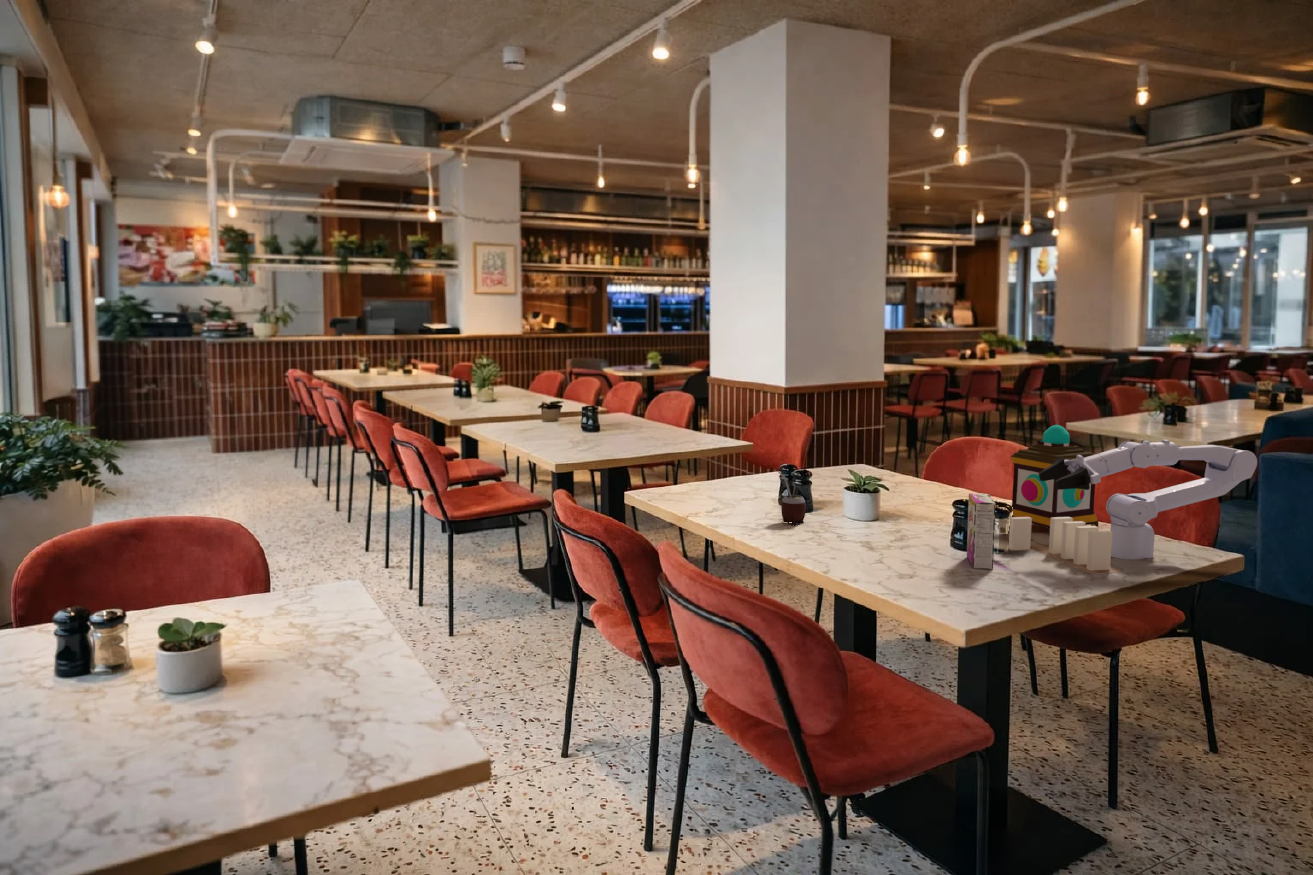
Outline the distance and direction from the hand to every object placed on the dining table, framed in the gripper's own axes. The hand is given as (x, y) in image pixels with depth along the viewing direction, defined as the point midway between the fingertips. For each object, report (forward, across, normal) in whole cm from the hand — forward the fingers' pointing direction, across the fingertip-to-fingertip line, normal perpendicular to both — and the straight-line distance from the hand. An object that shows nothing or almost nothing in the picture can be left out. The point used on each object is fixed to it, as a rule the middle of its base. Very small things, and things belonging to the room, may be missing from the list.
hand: (1047, 481), depth 217 cm
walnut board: (-1, +3, +21) cm, 21 cm away
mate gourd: (+57, -44, +9) cm, 72 cm away
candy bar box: (+22, +3, +14) cm, 26 cm away
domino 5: (-2, +13, +19) cm, 23 cm away
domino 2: (0, -2, +20) cm, 20 cm away
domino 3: (-1, +3, +20) cm, 20 cm away
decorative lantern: (-12, -28, +27) cm, 41 cm away
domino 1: (+8, -6, +19) cm, 22 cm away
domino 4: (-1, +8, +20) cm, 21 cm away
